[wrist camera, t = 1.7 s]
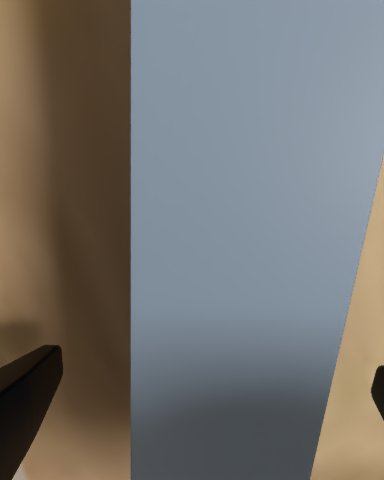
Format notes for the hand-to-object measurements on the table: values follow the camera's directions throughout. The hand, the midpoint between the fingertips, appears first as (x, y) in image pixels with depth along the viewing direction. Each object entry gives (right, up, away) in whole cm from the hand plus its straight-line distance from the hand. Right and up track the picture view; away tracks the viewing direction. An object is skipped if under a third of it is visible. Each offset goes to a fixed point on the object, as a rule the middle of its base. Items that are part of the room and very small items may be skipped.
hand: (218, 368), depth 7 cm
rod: (0, +5, +1) cm, 5 cm away
